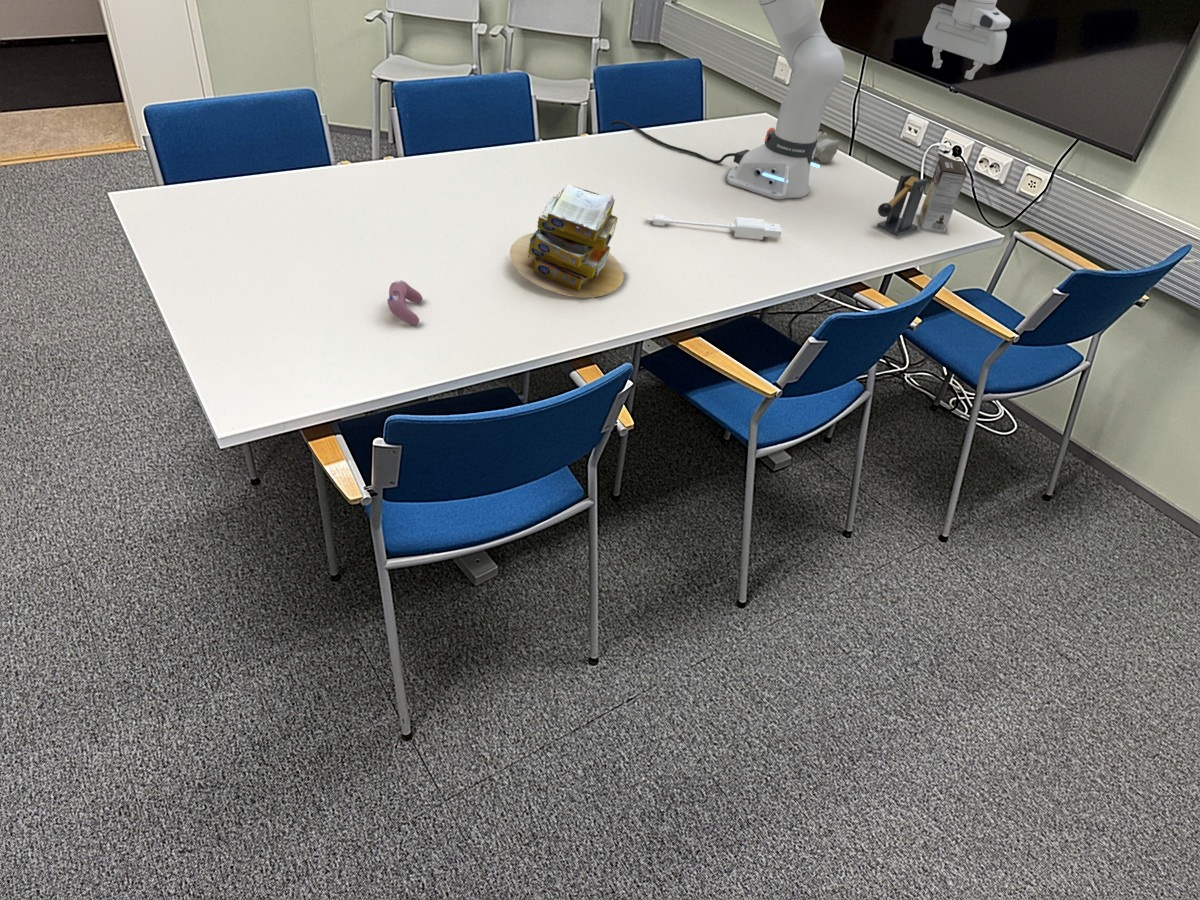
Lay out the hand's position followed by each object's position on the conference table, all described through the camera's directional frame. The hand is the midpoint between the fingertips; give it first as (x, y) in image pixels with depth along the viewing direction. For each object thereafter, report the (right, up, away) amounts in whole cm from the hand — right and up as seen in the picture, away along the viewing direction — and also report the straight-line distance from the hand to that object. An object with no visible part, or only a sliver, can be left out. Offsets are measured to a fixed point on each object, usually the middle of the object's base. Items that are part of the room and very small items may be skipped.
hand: (951, 73), depth 217 cm
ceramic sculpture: (-24, -6, +45) cm, 51 cm away
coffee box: (0, -34, +14) cm, 37 cm away
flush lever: (-12, -31, +3) cm, 34 cm away
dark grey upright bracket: (-11, -36, +9) cm, 39 cm away
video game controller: (-125, -67, -48) cm, 150 cm away
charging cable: (-59, -40, -3) cm, 72 cm away
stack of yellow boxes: (-95, -55, -27) cm, 113 cm away
